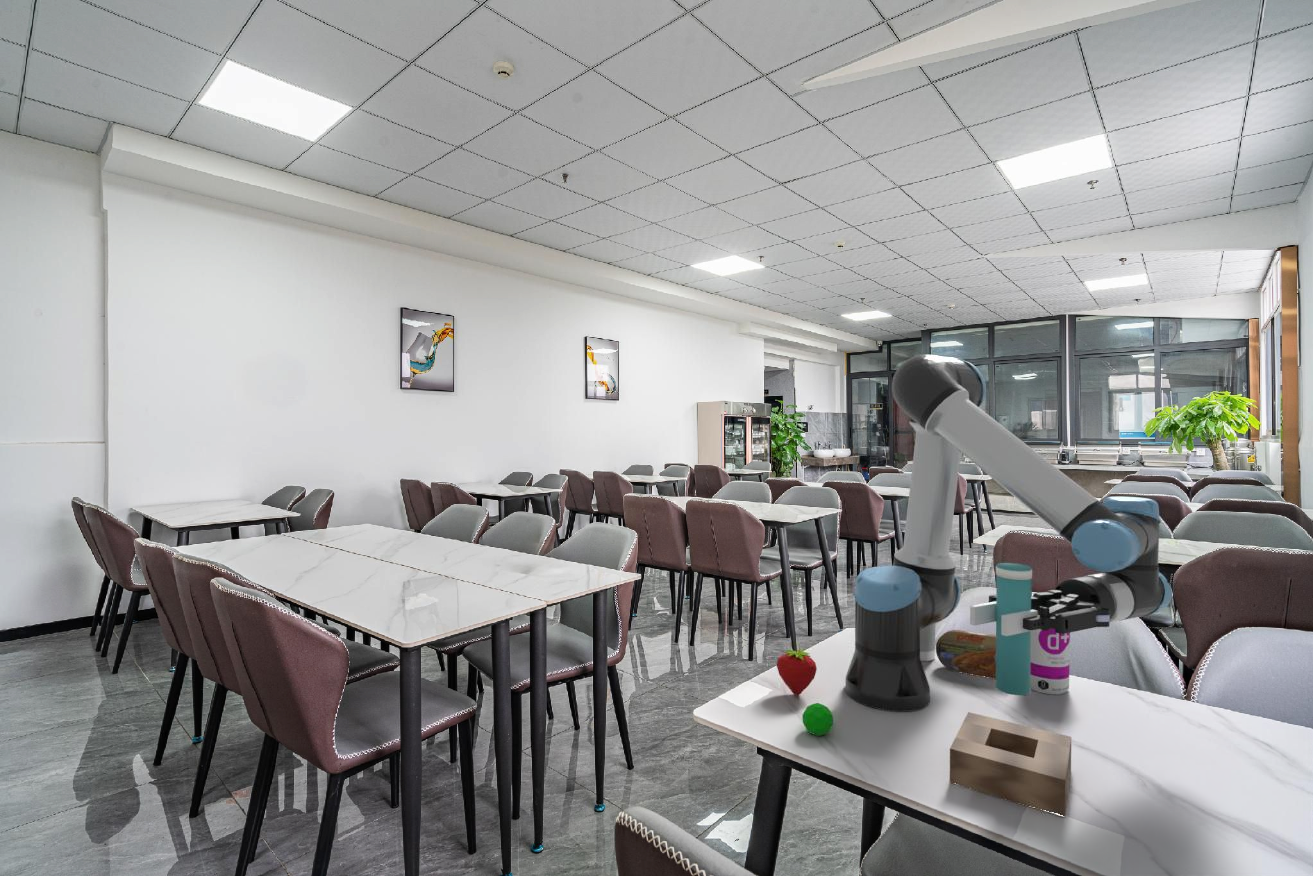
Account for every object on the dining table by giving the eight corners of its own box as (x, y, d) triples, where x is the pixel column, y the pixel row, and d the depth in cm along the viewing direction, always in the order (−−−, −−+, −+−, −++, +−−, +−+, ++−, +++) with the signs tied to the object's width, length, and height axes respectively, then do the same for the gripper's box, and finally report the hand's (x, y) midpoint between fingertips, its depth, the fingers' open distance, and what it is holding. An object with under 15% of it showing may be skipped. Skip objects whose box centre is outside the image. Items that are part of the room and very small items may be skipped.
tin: (935, 668, 134) (935, 628, 134) (937, 663, 137) (937, 624, 137) (1017, 683, 126) (1017, 641, 126) (1018, 678, 129) (1018, 636, 129)
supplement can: (1077, 696, 120) (1079, 618, 119) (1031, 694, 121) (1033, 616, 120) (1055, 679, 128) (1057, 605, 128) (1012, 677, 129) (1014, 603, 128)
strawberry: (780, 685, 126) (780, 635, 125) (819, 691, 123) (819, 640, 122) (773, 697, 120) (773, 645, 120) (813, 704, 117) (814, 650, 117)
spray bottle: (920, 664, 136) (921, 580, 136) (895, 653, 142) (895, 573, 142) (942, 658, 139) (942, 576, 139) (916, 648, 146) (917, 570, 145)
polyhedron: (797, 733, 106) (797, 705, 106) (811, 723, 110) (811, 696, 110) (824, 744, 103) (824, 714, 103) (838, 732, 107) (838, 704, 107)
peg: (992, 690, 92) (993, 567, 92) (997, 680, 96) (998, 561, 96) (1029, 698, 90) (1030, 571, 89) (1032, 687, 94) (1033, 565, 93)
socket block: (949, 782, 92) (949, 748, 92) (967, 742, 103) (968, 712, 103) (1064, 817, 84) (1065, 780, 84) (1070, 769, 95) (1071, 736, 95)
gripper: (1153, 641, 92) (1046, 668, 83) (1038, 609, 108) (937, 628, 99) (1154, 590, 92) (1047, 610, 82) (1038, 565, 108) (938, 580, 98)
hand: (988, 620), depth 91 cm, fingers closed on peg, 4 cm apart
